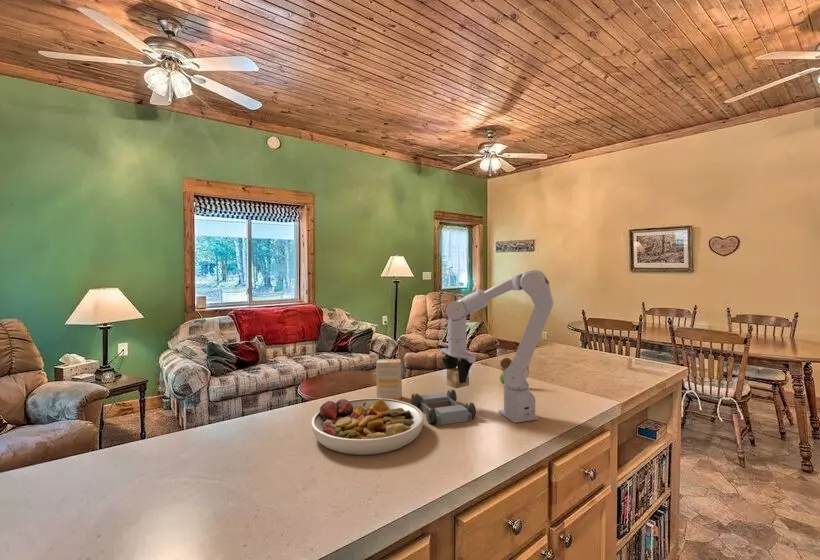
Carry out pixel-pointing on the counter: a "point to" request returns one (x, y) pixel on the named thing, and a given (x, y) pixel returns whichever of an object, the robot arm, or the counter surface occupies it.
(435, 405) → the car chassis
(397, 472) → the counter surface
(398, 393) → the supplement box
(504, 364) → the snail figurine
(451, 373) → the engine block
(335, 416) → the bowl
